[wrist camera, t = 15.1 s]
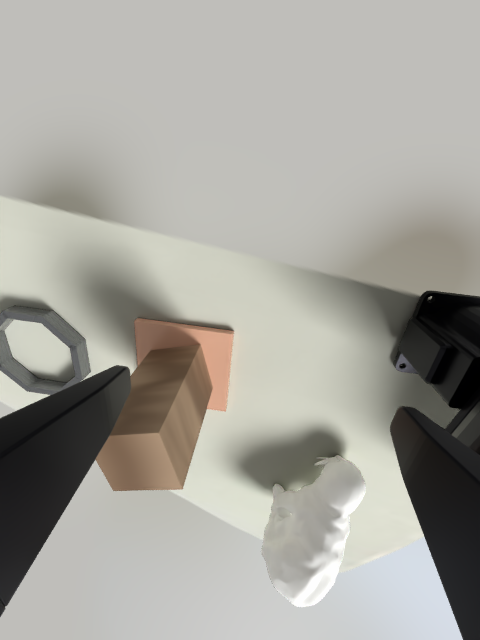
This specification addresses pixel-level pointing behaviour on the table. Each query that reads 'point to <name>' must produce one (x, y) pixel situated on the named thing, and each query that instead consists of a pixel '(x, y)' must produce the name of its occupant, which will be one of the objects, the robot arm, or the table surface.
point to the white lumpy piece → (311, 531)
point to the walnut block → (158, 422)
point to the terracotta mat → (178, 335)
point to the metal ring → (77, 344)
